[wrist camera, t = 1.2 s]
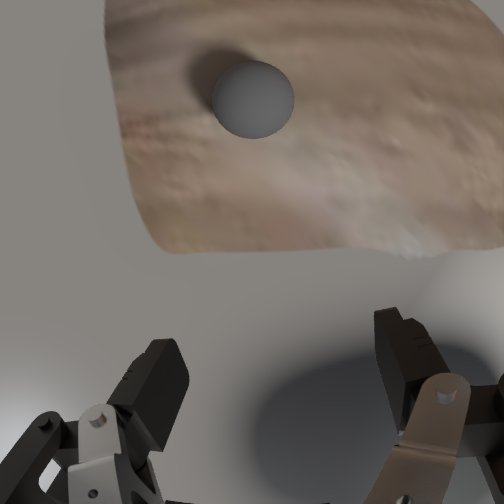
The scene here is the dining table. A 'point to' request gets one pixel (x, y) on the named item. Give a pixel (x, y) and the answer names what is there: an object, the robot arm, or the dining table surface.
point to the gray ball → (253, 99)
